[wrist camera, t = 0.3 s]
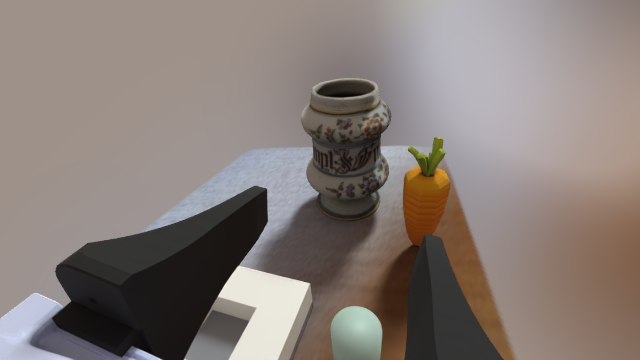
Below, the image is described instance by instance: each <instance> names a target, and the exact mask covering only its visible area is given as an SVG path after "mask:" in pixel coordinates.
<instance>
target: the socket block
mask: <svg viewBox="0 0 640 360" xmlns="http://www.w3.org/2000/svg"><path fill="white" fill-rule="evenodd" d="M312 308H313V301H312V294H311V287H310V283H306V282H302V281H298V280H294V279H290V278H286V277H282V276H278V275H274V274H270V273H266V272H262V271H258V270H254V269H249V268H245V267H241V266H238V267H237V268H236V270H235V271H234V272H233V274H232V275H231V276H230V278H229V279H228V281H227V282H226V284H225V285H224V287H223V289H222V290H221V292H220V294H219V295H218V297H217V299H216V300H215V302H214V304H213V306H212V307H211V309H210V311H209V313H208V314H207V316H206V318H205V320H204V322H203V323H202V325H201V327H200V329H199V331H198V333H197V335H196V337H195V338H194V340H193V342H192V344H191V346H190V348H189V350H188V352H187V354H186V356H185V358H184V360H293V358H294V355H295V352H296V350H297V347H298V345H299V342H300V339H301V337H302V334H303V332H304V329H305V326H306V324H307V321H308V319H309V316H310V313H311V311H312Z"/></svg>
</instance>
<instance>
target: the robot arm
mask: <svg viewBox="0 0 640 360" xmlns="http://www.w3.org/2000/svg"><path fill="white" fill-rule="evenodd" d="M267 222H268V213H267V189H266V188H262V187H259V186H253V187H251V188H249V189H247V190H245V191H244V192H242V193H240V194H238V195H236V196H234V197H232V198H230V199H228V200H227V201H225V202H223V203H221V204H219V205H217V206H215V207H212V208H210V209H208V210H206V211H204V212H202V213H199V214H197V215H195V216H193V217H190V218H187V219H185V220H182V221H179V222H177V223H174V224H171V225H168V226H164V227H161V228H158V229H154V230H151V231H147V232H144V233H139V234H135V235H131V236H126V237H122V238H117V239H110V240H104V241H98V242H92V243H87V244H86V245H84V246H83V247H82V248H80V249H79V250H78V251H76V252H75V253H73V254H72V255H71V256H69V257H68V258H67V259H65V260H64V261H63V262H61V263H60V264H59V265H57V267H56V271H55V272H56V276H57V278H58V280H59V282H60V284H61V285H62V287H63V288H64V290H65V292H66V293H67V295H68V296H69V298H70V299H71V302H70V303H69V304H68V305H66V306H65V307H63V306H62V305H60V304H59V303H57V302H56V301H54V300H51V299H49V298H47V297H45V296H43V295H40V294H38V293H33V294H32V295H31V296H29V297H28V298H27V299H25V300H24V301H23V302H21V303H20V304H19V305H17V306H16V307H15V308H13V309H12V310H11V311H10V312H8V313H7V314H6V315H4V316H3V317H2V318H0V360H184V358H185V356H186V354H187V352H188V350H189V348H190V346H191V344H192V342H193V340H194V338H195V337H196V335H197V333H198V331H199V329H200V327H201V325H202V323H203V322H204V320H205V318H206V316H207V314H208V313H209V311H210V309H211V307H212V306H213V304H214V302H215V300H216V299H217V297H218V295H219V294H220V292H221V290H222V289H223V287H224V285H225V284H226V282H227V281H228V279H229V278H230V276H231V275H232V274H233V272H234V271H235V270H236V268H237V267H238V266H239V264H240V263H241V262H242V260H243V259H244V258H245V256H246V255H247V254H248V252H249V251H250V250H251V248H252V247H253V246H254V244H255V243H256V241H257V240H258V239H259V237H260V235H261V233H262V232H263V230H264V228H265V226H266V224H267ZM405 360H503V358H502V357H501V355H500V354H499V353H498V351H497V350H496V348H495V347H494V346H493V344H492V343H491V341H490V340H489V338H488V337H487V335H486V333H485V332H484V330H483V329H482V327H481V325H480V324H479V322H478V320H477V319H476V317H475V315H474V313H473V312H472V310H471V308H470V306H469V304H468V302H467V300H466V298H465V296H464V294H463V292H462V290H461V288H460V286H459V284H458V281H457V279H456V277H455V274H454V272H453V270H452V267H451V265H450V262H449V259H448V256H447V254H446V251H445V247H444V244H443V241H442V239H441V238H440V237H437V236H433V235H430V234H426V233H425V235H424V238H423V241H422V243H421V246H420V248H419V251H418V254H417V256H416V259H415V262H414V264H413V267H412V273H411V279H410V285H409V298H408V321H407V342H406V353H405Z"/></svg>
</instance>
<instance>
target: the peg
mask: <svg viewBox="0 0 640 360" xmlns="http://www.w3.org/2000/svg"><path fill="white" fill-rule="evenodd" d="M331 339H332V350H333V360H380V354H381V342H382V327H381V324H380V321H379V320H378V318H377V317H376V316H375V315H374V314H373V313H372V312H371V311H369V310H368V309H366V308H363V307H358V306H352V307H347V308H345V309H343V310H341V311H340V312H338V313H337V314H336V316H335V317H334V319H333V321H332V324H331Z"/></svg>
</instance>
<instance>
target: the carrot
mask: <svg viewBox="0 0 640 360" xmlns="http://www.w3.org/2000/svg"><path fill="white" fill-rule="evenodd" d="M442 147H443V140H442V139H441V138H440V137H436V138H434V142H433V149H432V152H431V153H429V158H428V157H427V155H424V154H423V153H419V152H418V151H417V150H416V149H414V148H413V147H411V146H410V147H409V148H408V151H409V152H410V153H412V154H413V155H414V157H415V158H416V160H417V162H418V164H419V166H417V167H415V168H413V169H412V170H410V171H408V172H407V173H406V174H405V177H404V189H403V210H404V218H405V224H406V231H407V233H408V236H409V238H410V240H411V241H412V243H413V244H414V245H416V246H420V245H421V243H422V241H423V238H424V235H425V233H426V234H430V235H432V234H433V232H434V231H435V229H436V227H437V226H438V224H439V222H440V219H441V217H442V215H443V212H444V209H445V206H446V202H447V198H448V194H449V190H450V182H449V179H448V177H447V174H446V172H445V171H443V170H441V169H438V168H437V165H438V164H439V163H440V161H441V160H442V158H443V157H444V155H445V154H446V153H445V151H444V150H443V149H442Z"/></svg>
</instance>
